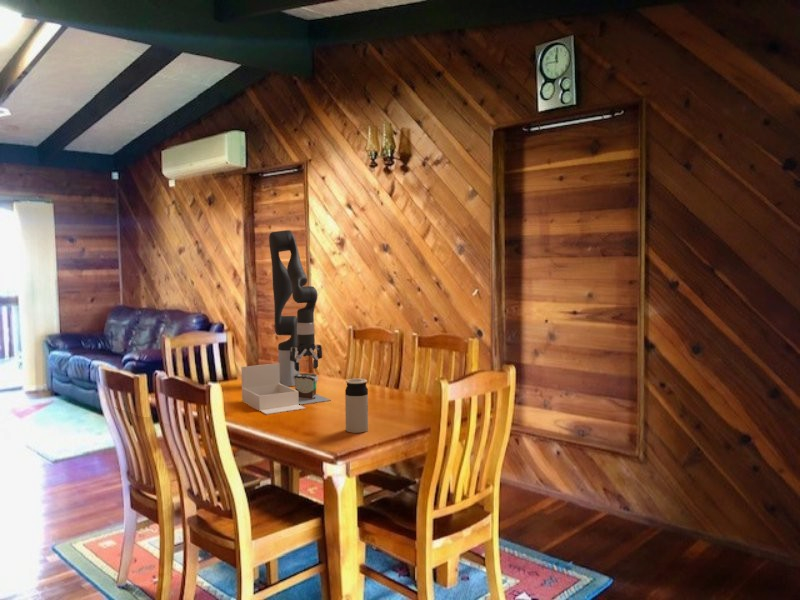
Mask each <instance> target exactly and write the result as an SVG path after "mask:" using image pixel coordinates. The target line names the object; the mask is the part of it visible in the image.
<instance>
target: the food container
mask: <svg viewBox="0 0 800 600" xmlns="http://www.w3.org/2000/svg"><path fill="white" fill-rule="evenodd" d="M293 379H294V381H295V386H294V390H297V391H298V394H299V398H305V399H312V400H313V399H315V397H316V394H317V384H318V383H317V382H318V381H319V377H318V375H317V374H316V373H309V372H301V373H299V374H294V376H293Z"/></svg>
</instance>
